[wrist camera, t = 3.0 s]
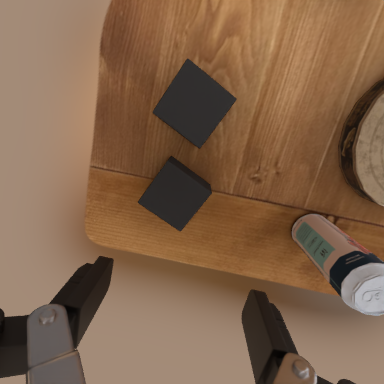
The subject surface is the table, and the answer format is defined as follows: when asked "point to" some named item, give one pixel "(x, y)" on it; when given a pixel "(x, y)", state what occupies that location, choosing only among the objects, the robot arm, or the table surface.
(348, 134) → the wood slice
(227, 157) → the table surface
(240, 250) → the table surface
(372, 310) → the beer can
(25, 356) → the robot arm
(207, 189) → the black block in front
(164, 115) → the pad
